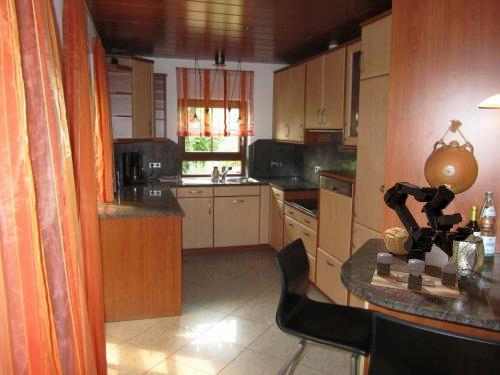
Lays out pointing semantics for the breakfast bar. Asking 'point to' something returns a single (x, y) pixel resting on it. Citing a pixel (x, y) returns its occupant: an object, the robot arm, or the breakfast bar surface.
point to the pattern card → (424, 281)
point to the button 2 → (449, 267)
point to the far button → (416, 267)
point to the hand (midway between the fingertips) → (451, 256)
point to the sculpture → (396, 240)
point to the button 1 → (384, 258)
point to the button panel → (417, 282)
